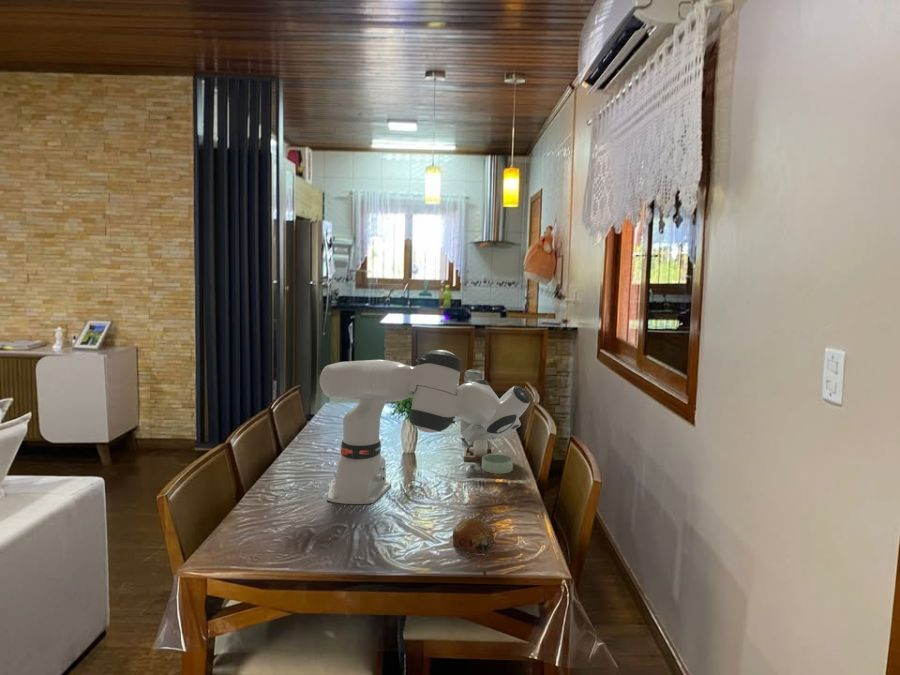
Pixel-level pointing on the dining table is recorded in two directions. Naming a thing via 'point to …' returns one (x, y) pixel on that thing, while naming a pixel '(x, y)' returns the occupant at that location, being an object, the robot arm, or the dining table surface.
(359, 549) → the dining table surface
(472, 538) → the bread roll
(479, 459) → the pebble tray
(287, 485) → the dining table surface
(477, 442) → the jar
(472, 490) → the dining table surface
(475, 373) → the grey bottle
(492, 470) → the bowl
